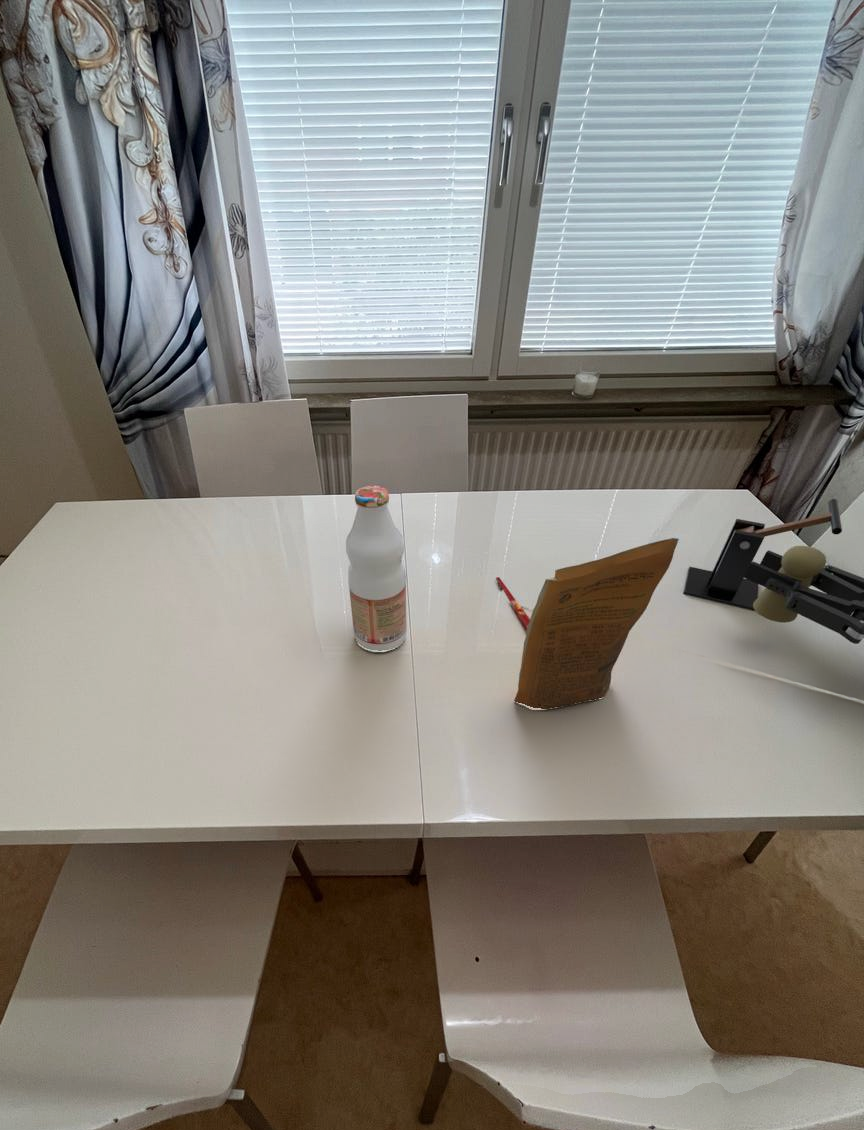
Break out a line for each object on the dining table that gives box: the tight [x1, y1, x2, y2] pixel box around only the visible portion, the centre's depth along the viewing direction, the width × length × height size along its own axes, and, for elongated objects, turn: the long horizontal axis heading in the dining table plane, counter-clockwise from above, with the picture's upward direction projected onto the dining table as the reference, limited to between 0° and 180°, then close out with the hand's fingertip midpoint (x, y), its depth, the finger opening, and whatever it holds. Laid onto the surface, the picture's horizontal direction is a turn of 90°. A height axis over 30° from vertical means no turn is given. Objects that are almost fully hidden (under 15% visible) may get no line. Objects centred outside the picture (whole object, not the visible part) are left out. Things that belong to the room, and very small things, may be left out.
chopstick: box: [495, 576, 530, 631], centre depth 97 cm, size 2×24×1 cm, turn 13°
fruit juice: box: [345, 485, 408, 651], centre depth 86 cm, size 9×9×28 cm
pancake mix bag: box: [513, 537, 680, 709], centre depth 74 cm, size 7×19×28 cm, turn 102°
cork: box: [753, 545, 827, 623], centre depth 80 cm, size 6×6×11 cm
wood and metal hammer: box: [739, 498, 843, 538], centre depth 89 cm, size 14×10×2 cm
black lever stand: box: [683, 518, 766, 612], centre depth 96 cm, size 12×9×14 cm
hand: (756, 563), depth 83 cm, fingers closed on cork, 4 cm apart
